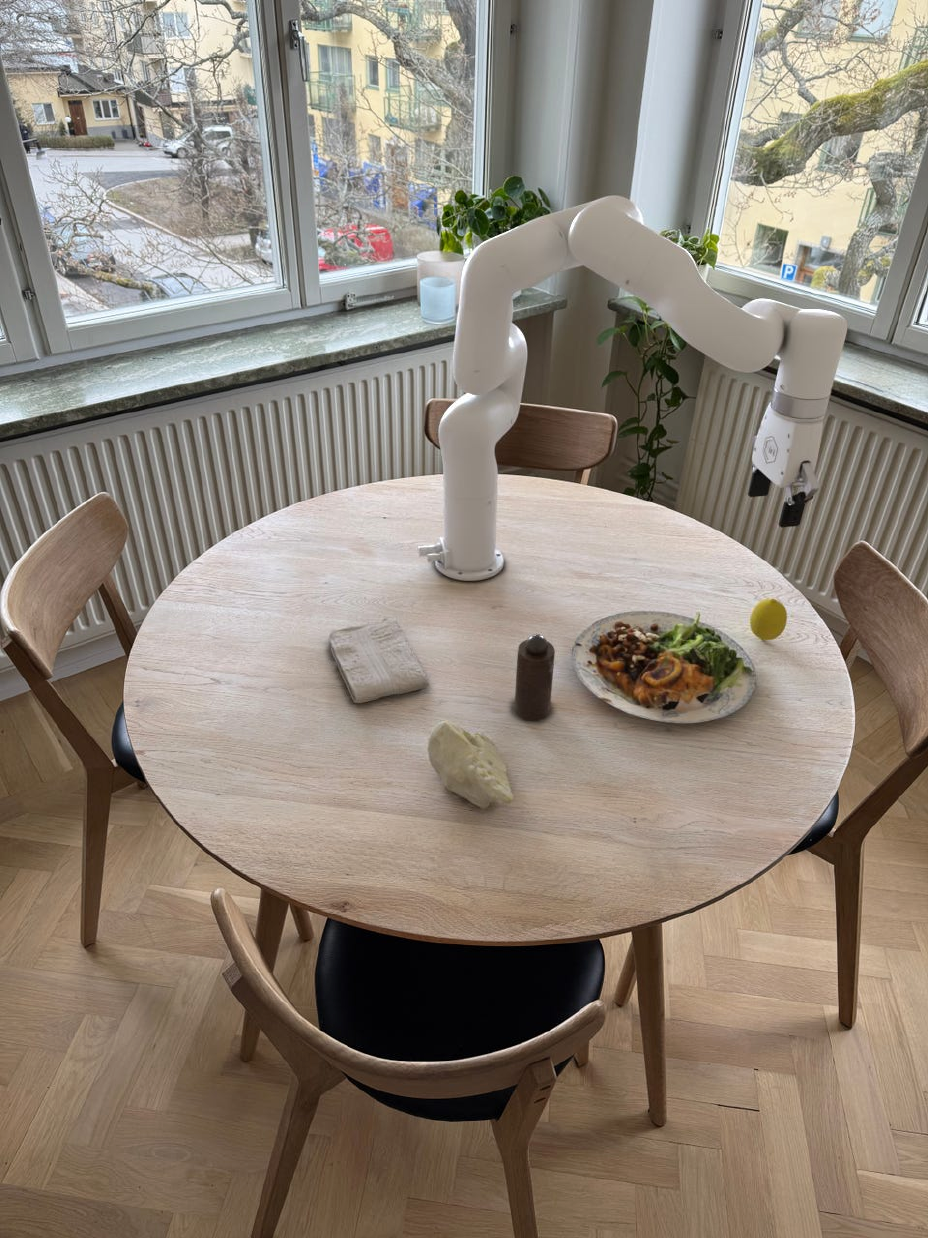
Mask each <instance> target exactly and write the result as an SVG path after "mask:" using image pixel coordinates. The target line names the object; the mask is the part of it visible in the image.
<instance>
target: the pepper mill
mask: <svg viewBox="0 0 928 1238" xmlns="http://www.w3.org/2000/svg"><path fill="white" fill-rule="evenodd" d="M555 655H556V649H555V646H554V645H553V644H552V643H551V642H550V641H548V640H547V639H546V637H545V636H543V635H541V634H538V633H536V634H531V635H530V636H529V637H528V638H527V639H525V640H523V641H521V642H520V643H519V644H518V647H517V654H516V673H515V674H516V676H515V692H514V712H515V713H516V715H517V716H518V717H520V718H521V719H524V720H526V721H532V722H534V721H540V720H543V719H545V718H546V717H548V716H549V714H550V712H551V702H552V690H553V677H554V667H555Z"/></svg>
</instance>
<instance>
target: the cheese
mask: <svg viewBox="0 0 928 1238" xmlns="http://www.w3.org/2000/svg"><path fill="white" fill-rule="evenodd" d="M427 753H428V759H429V762H430V765H431V767H432V768H433V770H434V771H435V773H436V774H437V775H438V776H439V777H440V780H441V783H442V786H443V787H444V788H445V789H446V790H448V791H449V792H451V793H455V794H456V795H458V796H459V797H461V798H465V799H466V800H467V801H469V802H470V803H471V804H472V805H474V806H477V807H479V808H480V809H482V810H485V809H487V808H488V807H489V806H490V805H491V803H496V802H497V803H498V804H500V805H501V804H502V805H503V804H511V803H512V802H513V801H514V798H515V797H514V795H513V794H512V793H513V792H512V788H511V785H510V781H509V779H508V769H507V766H506V764H507V763H506V762H505V760H504V759H503V757H502V756H501V754H500V752H499V750H498V747H497V746H496V744H495V742H494V741H493V740H492V739H490V737H488V736H487V735H486V734H485V733H482V732H481V733H480V732H475V733H472V734H471V733H470V732H469V731H468V730H466V729H465V728H463V726H461V725H460V724H458V723H454V722H452V721H450V720H447V719H444V720H442V721H440V722H439V723H437V724H436V725H435V726H434V727H433V729H432V730H431V732H430V735H429V737H428V743H427Z"/></svg>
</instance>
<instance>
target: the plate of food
mask: <svg viewBox="0 0 928 1238" xmlns="http://www.w3.org/2000/svg"><path fill="white" fill-rule="evenodd" d="M700 618H701V613H700V612H699V611H697V612H696V615H695V618H693V617H690V616H685V615H681V614H676V613H672V612H665V611H656V610H636V611H634V610H633V611H626V612H621V613H615V614H613V615H609V616H606V617H603V618H601V619H599V620H596V621H595V622H593V623H591V625H589V626H588V627H587V628H585V629H584V630H583V631H582V632H581V633H579V635H578V636H577V638H576V640H575V642H574V645H573V646H572V649H571V661H572V665H573V668H574V671H575V674H576V676H577V677H578V679H579V680H580V681H581V682H582V684H583V685H584V686H585V687H586V688H587V689H588V690H589V691H590V692H591V693H593V694H594V695H595V696H596V697H597V698H599V699H601V701H604V702H605V703H606V704H608V705H610V706H612V707H614V708H616V709H617V710H620V711H622V712H625V713H627V714H630V715H633V716H636V717H640V718H643V719H647V720H652V721H655V722H656V721H657V722H661V723H662V722H663V723H670V724H671V723H672V724H696V723H697V724H698V723H704V722H709V721H714V720H719V719H722V718H724V717H728V716H730V715H732V714H734V713H735V712H736V711H738V710H740V709H741V708H743V707H744V706H745V705H747V704H748V702H749V701H750V700H751V698H752V696H753V695H754V693H755V691H756V687H757V684H758V682H757V681H758V679H757V672H756V668H755V665H754V663H753V661H752V659H751V658H750V656H749V655H748V654H747V652H746V651H745V650H744V648H743V647H742V646H741V645H740V644H739V643H738V642H737V641H736V640H734V639H732V638H731V637H730V636H729V635H727V634H726V633H724V632H723V631H722V630H720V629H718V628H716V627H715V626H712V625H710V624H708V623H705V622H702V621H700Z"/></svg>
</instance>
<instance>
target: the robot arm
mask: <svg viewBox="0 0 928 1238" xmlns="http://www.w3.org/2000/svg"><path fill="white" fill-rule="evenodd" d="M581 266H584V267H585V268H587V269H589V270H590V271H592V272H593V273H595V274H596V275H598V276H600V277H602V278H603V279H605V280H607V281H608V282H610V283H612V284H613V285H615V286H617V287H619V288H620V289H622V290H623V291H625V292H627V293H628V294H630V295H632V296H634V297H635V298H637V299H638V300H640V301H642V302H643V303H645V304H646V305H648V306H649V307H651V308H652V309H653V310H654V311H655V312H656V313H657V314H658V315H659V316H660V317H659V318H661V319H662V320H663V321H664V322H665V323H666V324H667V325H668V326H669V327H670V328H671V329H672V330H673V331H674V332H675V333H676V334H677V335H678V336H679V337H680V338H681V339H682V340H683V341H685V342H686V343H687V344H689V345H690V346H691V347H692V348H694V349H695V350H697V351H698V352H701V353H702V354H704V355H705V356H707V357H709V358H710V359H712V360H713V361H715V362H717V363H718V364H721V365H722V366H724V367H726V368H728V369H730V370H733V371H736V372H740V373H746V374H747V373H755V372H758V371H761V370H763V369H765V368H766V367H768V366H769V365H770V364H771V363H772V362H773V361H774V359H775V358H776V356H778V357H779V359H780V361H779V365H778V369H777V374H776V379H775V383H774V386H773V392H772V395H771V400H770V402H769V404H768V406H767V407H766V410H765V412H764V415H763V417H762V420H761V421H760V422H761V423H760V424H759V425H760V426H759V429H758V431H757V435H755V436H753V438H752V443H753V444H752V446H753V450H752V453H751V456H752V457H751V461H752V464H751V471H752V473H751V478H750V483H749V487H748V490H747V496H748V497H750V498H758V497H766V496H768V495H769V491H770V488H771V484H772V483H773V484H774V485H775V486H776V487H778V488H781V489H783V488H785V495H786V501H783V504H782V508H781V511H780V515H779V520H778V526H779V527H780V528H793V527H799V526H800V525H801V521H802V518H803V514H804V510H805V507H806V504H809V502H810V501H811V500H813V499H814V497H815V495H816V494H817V492H818V491H819V490H820V483H819V480H818V479H817V476H816V474H815V470H816V466H817V463H818V458H819V452H820V448H821V442H822V434H823V425H824V420H823V419H824V418H825V415H826V413H827V409H828V405H829V401H830V397H831V394H832V390H833V386H834V382H835V379H836V375H837V370H838V366H839V363H840V359H841V356H842V352H843V348H844V345H845V340H846V336H847V332H848V322H847V320H846V319H845V317H843V316H842V315H841V314H838V313H837V312H834V311H830V310H825V309H815V308H814V309H813V308H811V309H804V308H800V307H798V306H797V307H796V306H793V305H790V304H786V303H783V302H780V301H777V300H773V299H769V298H758V299H753V300H751V301H749V302H747V303H746V304H744V305H743V306H742V307H740V306H738V305H736V304H734V303H733V302H731V301H730V300H728V299H726V297H723V296H722V295H721V294H719V293H718V292H717V291H716V290H714V289H713V288H712V287H711V286H710V285H709V284H708V283H707V281H706V280H705V279H704V277H702V275H701V272H699V269H698V266H697V264H696V262H695V260H694V258H693V257H692V255H691V254H690V252H689V251H688V250H687V249H686V248H684V247H683V246H681V245H678V244H677V243H675V242H674V241H672V240H670V239H668V238H667V237H665V236H663V235H662V234H660V233H658V232H657V231H655V230H653V229H652V228H650V227H648V226H647V225H645V224H644V221H643V216H642V213H641V211H640V209H639V208H638V206H637V205H636V204H635V203H634V202H633V201H632V200H630V199H628V198H626V197H625V196H622V195H607V196H603V197H601V198H597V199H595V200H592V201H589V202H585V203H582V204H579V205H575V206H572V207H569V208H565V209H562V210H559V211H555V212H552V213H548V214H545V215H542V216H538V217H535V218H533V219H531V220H529V221H527V222H525V223H523V224H520V225H518V226H516V227H514V228H512V229H510V230H508V231H506V232H503V233H501V234H499V235H496V236H494V237H491V238H490V239H487V240H485V241H483V242H482V243H481V244H479V245H477V246H476V247H475V248H474V249H473V251H471V253H470V254H469V255H468V257H467V259H466V260H465V262H464V265H463V269H462V273H461V280H460V290H459V301H458V310H457V316H456V323H455V324H456V325H455V333H454V343H453V351H452V360H451V369H452V370H451V371H452V372H451V373H452V377H453V380H454V382H455V384H456V385H457V387H458V388H459V389H460V391H462V392H464V393H465V394H463V395H462V396H461V397H459V398H458V399H457V400H455V401H454V402H453V403H452V404H451V405H450V406H449V407H448V408H447V409H446V411H445V412H444V414H443V415H442V417H441V419H440V420H439V421H440V422H439V425H438V432H437V433H438V442H439V448H440V455H441V460H442V487H443V488H442V489H443V490H442V491H443V492H442V493H443V494H442V496H443V497H442V499H443V501H442V503H443V506H442V507H443V509H442V511H443V515H442V517H443V521H442V522H443V523H442V525H443V532H442V533H443V535H442V536H440V537H439V542H437V543H434V544H433V545H421V546H417V556H418V557H419V558H423V557H426V561H427V562H428V563H431V562H434V565H435V568H436V569H437V570H438V571H439V573H441V574H442V575H444V576H446V577H448V578H450V579H453V580H458V581H464V582H475V581H482V580H486V579H490V578H492V577H494V576H496V575H497V574H498V573H500V572H501V570H502V569H503V567H504V561H505V560H504V555H503V554H502V552H501V551H500V550H499V549H497V548H496V547H497V546H496V545H497V523H498V521H497V519H498V493H499V492H498V491H499V487H498V486H499V471H498V464H497V463H498V462H497V459H496V454H495V448H496V445H497V444H498V442H499V441H500V440H501V439H502V437H503V436H505V434H506V433H507V432H508V431H510V429H511V428H512V427H513V426H514V425H515V423H516V421H517V420H518V419H517V418H518V416H519V413H520V408H521V402H522V394H523V390H524V383H525V377H526V370H527V363H528V346H527V341H526V338H525V336H524V333H523V332H522V330H521V329H520V328H519V327H518V326H517V325H516V324H514V323H513V318H514V317H513V316H514V300H513V299H514V298H513V296H514V295H515V294H516V293H517V292H519V291H524V290H527V289H531V288H533V287H536V286H538V285H540V284H541V283H542V282H544V281H546V280H548V279H549V278H551V277H553V276H554V275H555V274H557V273H560V272H563V271H567V270H571V269H575V268H577V267H581ZM795 480H796V481H795ZM794 488H798V489H799V492H797V493H796V494H795V490H794Z"/></svg>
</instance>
